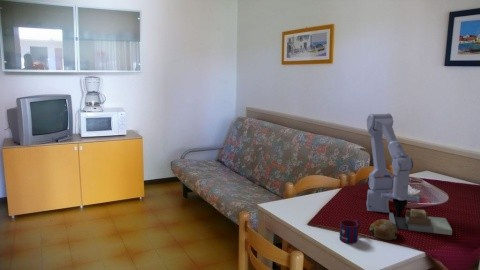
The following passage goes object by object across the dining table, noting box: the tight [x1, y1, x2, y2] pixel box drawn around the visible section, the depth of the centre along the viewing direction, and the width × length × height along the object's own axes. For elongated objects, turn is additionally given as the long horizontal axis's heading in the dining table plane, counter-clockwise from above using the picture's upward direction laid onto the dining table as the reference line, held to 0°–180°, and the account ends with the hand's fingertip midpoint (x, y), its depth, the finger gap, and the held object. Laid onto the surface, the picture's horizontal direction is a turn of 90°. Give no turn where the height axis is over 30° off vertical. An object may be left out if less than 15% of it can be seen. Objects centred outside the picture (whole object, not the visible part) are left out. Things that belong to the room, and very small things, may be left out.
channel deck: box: [388, 209, 453, 236], centre depth 154 cm, size 22×12×4 cm, turn 73°
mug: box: [339, 219, 360, 245], centre depth 142 cm, size 7×10×7 cm
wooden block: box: [410, 208, 426, 219], centre depth 153 cm, size 5×5×4 cm
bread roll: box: [368, 218, 399, 241], centre depth 145 cm, size 10×10×8 cm
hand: (398, 216), depth 156 cm, fingers closed
